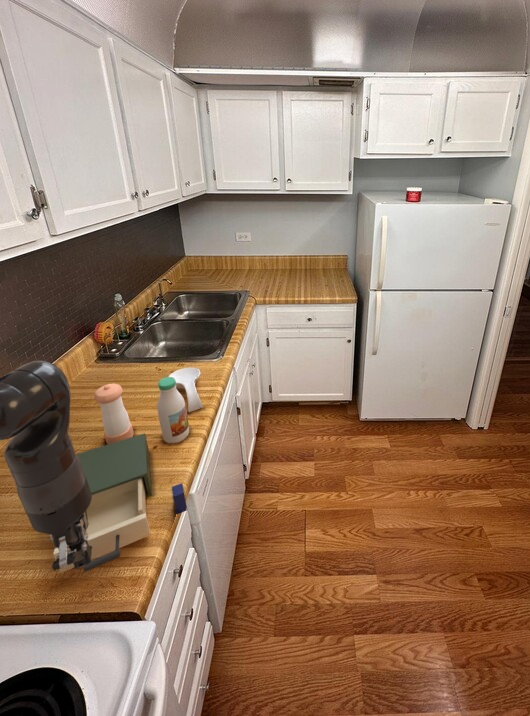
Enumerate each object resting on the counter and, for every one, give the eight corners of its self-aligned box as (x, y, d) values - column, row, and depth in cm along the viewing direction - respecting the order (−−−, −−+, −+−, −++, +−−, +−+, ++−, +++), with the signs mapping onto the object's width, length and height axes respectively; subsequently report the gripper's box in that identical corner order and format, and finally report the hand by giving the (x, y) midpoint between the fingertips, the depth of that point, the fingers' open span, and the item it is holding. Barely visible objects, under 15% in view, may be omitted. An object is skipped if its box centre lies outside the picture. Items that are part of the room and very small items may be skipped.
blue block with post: (176, 514, 79) (172, 497, 77) (173, 492, 85) (170, 475, 83) (187, 510, 80) (183, 492, 78) (183, 488, 86) (180, 471, 84)
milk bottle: (163, 447, 98) (151, 392, 91) (163, 429, 105) (152, 376, 97) (190, 439, 101) (181, 385, 94) (188, 422, 108) (180, 370, 100)
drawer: (151, 555, 70) (146, 537, 68) (56, 598, 63) (48, 579, 61) (148, 486, 85) (144, 469, 83) (71, 514, 78) (65, 497, 76)
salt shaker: (120, 426, 106) (107, 376, 99) (139, 431, 104) (127, 380, 97) (100, 443, 99) (85, 390, 92) (119, 449, 97) (105, 396, 90)
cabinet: (151, 495, 84) (146, 473, 81) (68, 527, 76) (59, 504, 74) (149, 453, 96) (145, 433, 93) (77, 477, 88) (69, 455, 86)
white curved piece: (166, 380, 128) (163, 364, 126) (197, 371, 134) (195, 356, 132) (178, 417, 110) (175, 399, 107) (214, 404, 116) (212, 388, 113)
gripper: (35, 464, 53) (64, 535, 59) (9, 542, 42) (48, 619, 49) (90, 447, 56) (112, 517, 63) (79, 516, 45) (107, 592, 52)
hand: (84, 561), depth 56 cm, fingers closed
